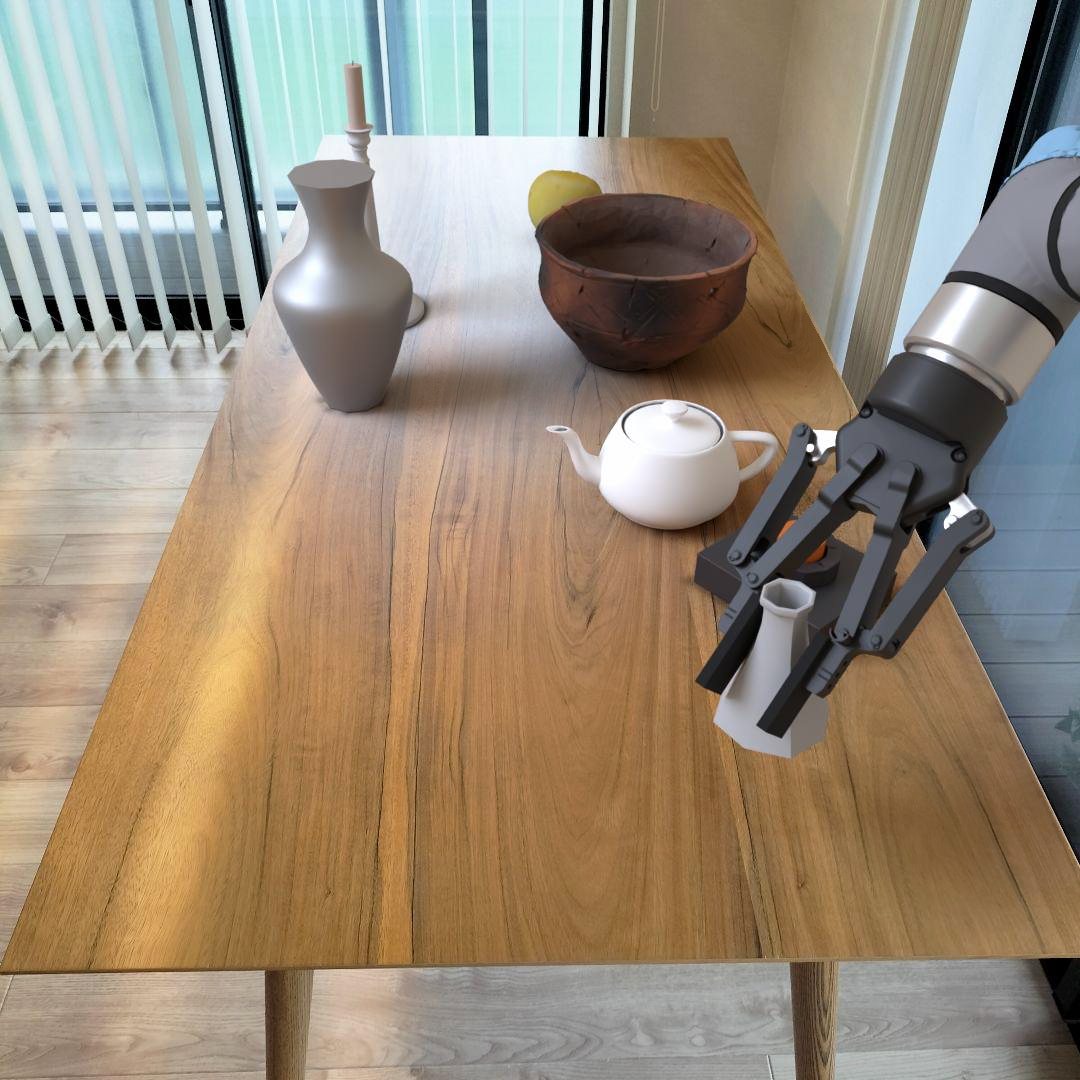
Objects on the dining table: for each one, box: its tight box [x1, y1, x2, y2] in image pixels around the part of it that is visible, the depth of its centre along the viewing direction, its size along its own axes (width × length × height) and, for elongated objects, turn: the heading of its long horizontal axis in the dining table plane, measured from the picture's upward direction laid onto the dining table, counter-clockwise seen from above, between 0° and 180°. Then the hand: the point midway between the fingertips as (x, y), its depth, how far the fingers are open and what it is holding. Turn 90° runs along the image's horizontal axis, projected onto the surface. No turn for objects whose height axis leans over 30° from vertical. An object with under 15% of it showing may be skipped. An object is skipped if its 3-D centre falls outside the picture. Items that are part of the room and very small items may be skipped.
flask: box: [712, 578, 831, 760], centre depth 66 cm, size 7×7×10 cm
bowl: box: [534, 192, 759, 372], centre depth 125 cm, size 25×25×15 cm
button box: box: [693, 513, 899, 644], centre depth 93 cm, size 13×11×5 cm
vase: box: [271, 158, 414, 413], centre depth 112 cm, size 14×14×25 cm
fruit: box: [527, 169, 603, 229], centre depth 154 cm, size 10×11×10 cm
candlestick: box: [341, 60, 425, 329], centre depth 128 cm, size 13×13×30 cm
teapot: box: [545, 399, 779, 531], centre depth 102 cm, size 22×14×11 cm, turn 93°
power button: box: [777, 520, 827, 564], centre depth 91 cm, size 4×4×2 cm
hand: (738, 709), depth 65 cm, fingers closed on flask, 4 cm apart
